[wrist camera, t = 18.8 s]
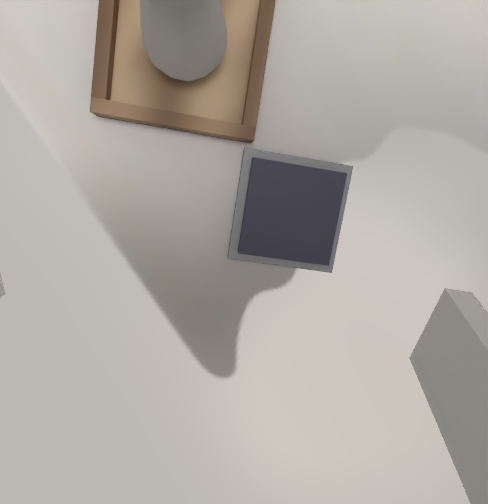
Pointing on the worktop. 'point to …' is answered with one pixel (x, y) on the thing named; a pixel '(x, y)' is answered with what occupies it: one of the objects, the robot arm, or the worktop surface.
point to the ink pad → (288, 210)
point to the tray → (178, 91)
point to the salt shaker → (183, 36)
